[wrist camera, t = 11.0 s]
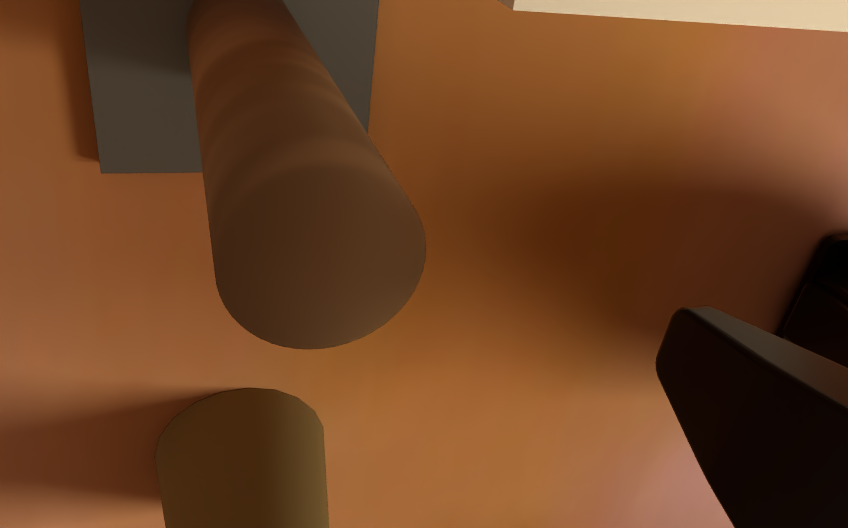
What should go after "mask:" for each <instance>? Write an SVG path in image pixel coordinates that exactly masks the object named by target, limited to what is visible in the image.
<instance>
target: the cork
mask: <svg viewBox="0 0 848 528" xmlns="http://www.w3.org/2000/svg"><path fill="white" fill-rule="evenodd" d="M154 458H155V464H156V470H157V476H158V483H159V489H160V495H161V501H162V508H163V514H164V520H165V526H166V528H329V518H328V501H327V484H326V466H325V449H324V432H323V426H322V424H321V422H320V420H319V418H318V416H317V414H316V413H315V411H314V410H313V409H312V408H310V407H309V406H308V405H307V404H305V403H304V402H303V401H301V400H300V399H299V398H297V397H294V396H291V395H288V394H286V393H283V392H280V391H277V390H269V389H256V388H245V389H239V390H233V391H226V392H220V393H218V394H215V395H213V396H210V397H208V398H205V399H203V400H200V401H198V402H195V403H194V404H192V405H191V406H189V407H188V408H187V409H185V410H184V411H183V412H181V413H180V414H179V415H177V416H176V417H174V418H173V419H172V421H171V422H170V423H169V425H168V426H167V427H166V429H165V430H164V431H163V433H162V434H161V436H160V437H159V440H158V444H157V448H156V452H155V456H154Z"/></svg>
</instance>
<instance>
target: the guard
mask: <svg viewBox="0 0 848 528" xmlns="http://www.w3.org/2000/svg"><path fill="white" fill-rule="evenodd" d="M498 1H500V2H501V3H503V4H504V5H506V6H507V7H509V8H510V9H512V10H518V11H534V12H549V13H565V14H580V15H596V16H611V17H626V18H642V19H657V20H673V21H688V22H704V23H719V24H734V25H750V26H765V27H781V28H796V29H812V30H827V31H843V32H848V0H498Z"/></svg>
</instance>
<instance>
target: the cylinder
mask: <svg viewBox="0 0 848 528" xmlns="http://www.w3.org/2000/svg"><path fill="white" fill-rule="evenodd" d="M186 35H187V44H188V52H189V61H190V69H191V77H192V86H193V94H194V102H195V111H196V119H197V128H198V136H199V144H200V153H201V161H202V170H203V178H204V186H205V195H206V203H207V212H208V220H209V228H210V237H211V245H212V253H213V262H214V270H215V278H216V285H217V288H218V291H219V295H220V297H221V299H222V301H223V303H224V305H225V307H226V309H227V310H228V311H229V313H230V314H231V316H232V317H233V318H234V319H235V320H236V321H237V322H238V323H239V324H240V325H241V326H242V327H243V328H245V329H246V330H247V331H249V332H250V333H252V334H253V335H255V336H257V337H259V338H260V339H263V340H265V341H267V342H270V343H272V344H276V345H279V346H283V347H289V348H295V349H323V348H329V347H335V346H339V345H343V344H346V343H349V342H352V341H355V340H357V339H360V338H362V337H364V336H366V335H368V334H370V333H372V332H373V331H375V330H376V329H378V328H379V327H381V326H382V325H384V324H385V323H386V322H388V321H389V320H390V319H391V318H392V317H393V316H394V315H395V314H396V313H398V312H399V311H400V310H401V308H402V307H403V306H404V305H405V303H406V302H407V301H408V300H409V298H410V297H411V295H412V293H413V292H414V290H415V288H416V286H417V284H418V282H419V280H420V277H421V274H422V271H423V268H424V263H425V257H426V241H425V233H424V229H423V225H422V222H421V220H420V218H419V215H418V213H417V212H416V210H415V208H414V207H413V205H412V204H411V202H410V200H409V199H408V197H407V196H406V194H405V193H404V191H403V189H402V188H401V186H400V185H399V183H398V181H397V180H396V178H395V177H394V175H393V174H392V172H391V170H390V169H389V167H388V166H387V164H386V163H385V161H384V159H383V158H382V156H381V155H380V153H379V152H378V150H377V148H376V147H375V145H374V144H373V142H372V141H371V139H370V137H369V136H368V134H367V133H366V131H365V129H364V128H363V126H362V125H361V123H360V122H359V120H358V118H357V117H356V115H355V114H354V112H353V111H352V109H351V107H350V106H349V104H348V103H347V101H346V100H345V98H344V96H343V95H342V93H341V92H340V90H339V88H338V87H337V85H336V84H335V82H334V81H333V79H332V77H331V76H330V74H329V73H328V71H327V70H326V68H325V66H324V65H323V63H322V62H321V60H320V59H319V57H318V55H317V54H316V52H315V51H314V49H313V47H312V46H311V44H310V43H309V41H308V40H307V38H306V36H305V35H304V33H303V32H302V30H301V29H300V27H299V25H298V24H297V22H296V21H295V19H294V18H293V16H292V14H291V13H290V11H289V10H288V8H287V7H286V5H285V3H284V2H283V1H282V0H194V2H193V3H192V5H191V8H190V10H189V13H188V16H187V22H186Z"/></svg>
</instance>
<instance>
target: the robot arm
mask: <svg viewBox="0 0 848 528" xmlns="http://www.w3.org/2000/svg"><path fill="white" fill-rule="evenodd" d="M656 371H657V375H658V378H659V380H660V382H661V384H662V387H663V389H664V391H665V393H666V395H667V397H668V399H669V402H670V404H671V406H672V408H673V410H674V412H675V414H676V416H677V419H678V421H679V423H680V425H681V427H682V429H683V431H684V434H685V436H686V438H687V440H688V442H689V444H690V446H691V448H692V451H693V453H694V455H695V457H696V459H697V461H698V463H699V465H700V467H701V469H702V471H703V473H704V475H705V477H706V479H707V481H708V483H709V485H710V486H711V488H712V490H713V492H714V494H715V495H716V497H717V499H718V500H719V502H720V504H721V506H722V507H723V509H724V511H725V512H726V514H727V516H728V517H729V519H730V521H731V522H732V524H733V526H734V528H848V234H845V235H832V236H829V237H827V238H826V239H825V240H824V241H823V242H822V243H821V244H820V246H819V248H818V250H817V252H816V254H815V256H814V258H813V260H812V262H811V264H810V266H809V268H808V270H807V272H806V274H805V277H804V279H803V281H802V283H801V285H800V287H799V289H798V291H797V293H796V295H795V297H794V299H793V301H792V303H791V305H790V308H789V310H788V312H787V314H786V316H785V318H784V320H783V322H782V324H781V326H780V328H779V330H778V332H777V334H776V336H775V335H773V334H771V333H769V332H767V331H764V330H762V329H760V328H758V327H755V326H753V325H751V324H749V323H747V322H744V321H742V320H740V319H738V318H735V317H733V316H731V315H729V314H727V313H724V312H722V311H720V310H718V309H715V308H713V307H710V306H693V307H683V308H680V309H678V310H677V311H676V312H675V313H674V314H673V315H672V317H671V320H670V322H669V325H668V327H667V330H666V333H665V335H664V338H663V341H662V343H661V346H660V349H659V351H658V354H657V357H656Z"/></svg>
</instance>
